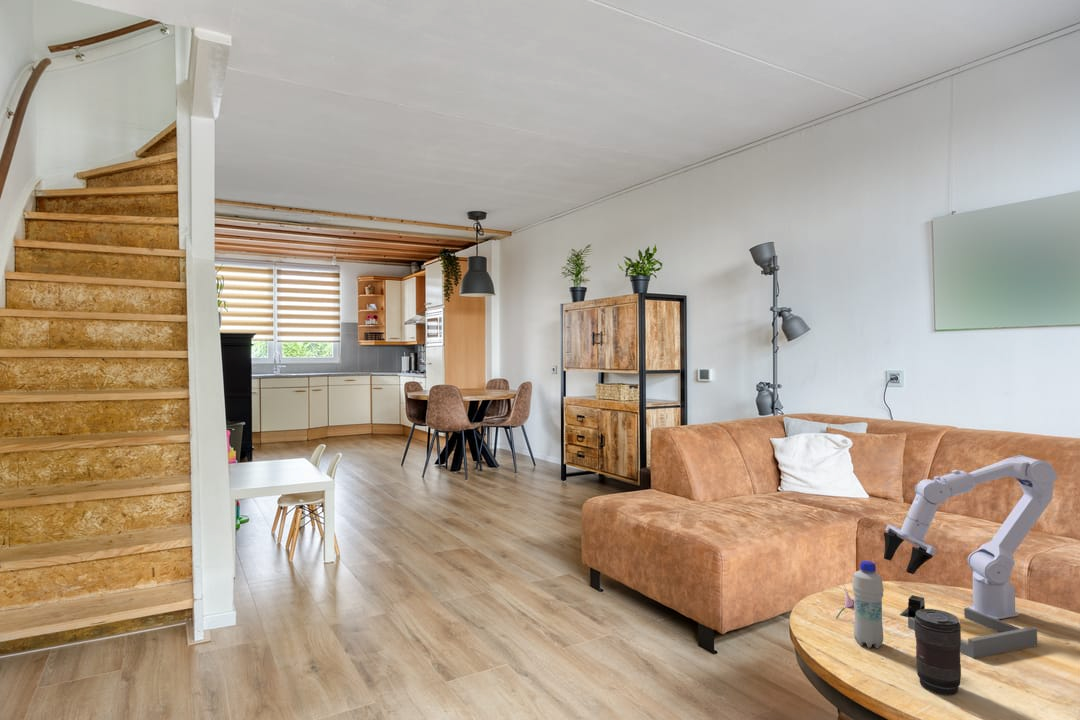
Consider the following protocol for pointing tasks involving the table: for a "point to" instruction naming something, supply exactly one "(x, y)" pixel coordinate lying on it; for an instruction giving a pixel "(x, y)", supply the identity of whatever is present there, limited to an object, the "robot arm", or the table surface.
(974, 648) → the dock
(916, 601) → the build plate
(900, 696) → the table surface
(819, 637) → the table surface
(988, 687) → the table surface
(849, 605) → the lily
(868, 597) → the bottle
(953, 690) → the camera lens
